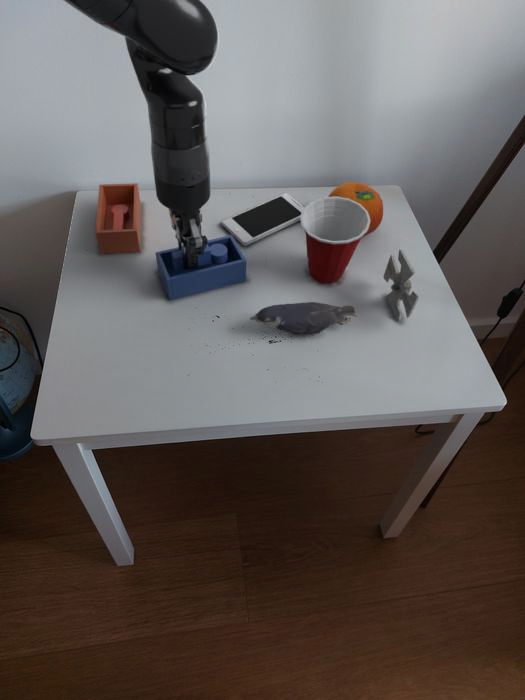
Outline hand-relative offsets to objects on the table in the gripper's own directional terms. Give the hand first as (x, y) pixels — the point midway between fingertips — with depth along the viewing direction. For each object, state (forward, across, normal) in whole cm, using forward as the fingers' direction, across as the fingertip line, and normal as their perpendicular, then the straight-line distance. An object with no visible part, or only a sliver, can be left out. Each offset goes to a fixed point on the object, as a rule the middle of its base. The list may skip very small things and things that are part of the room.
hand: (188, 262), depth 82 cm
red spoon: (+3, -16, -8) cm, 18 cm away
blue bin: (+4, 0, +2) cm, 5 cm away
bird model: (+4, +16, +13) cm, 21 cm away
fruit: (+4, -3, +32) cm, 33 cm away
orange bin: (+4, -17, -8) cm, 19 cm away
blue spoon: (+1, 0, +2) cm, 2 cm away
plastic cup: (+4, +6, +22) cm, 23 cm away
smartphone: (+4, -10, +18) cm, 21 cm away
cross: (+4, +17, +29) cm, 34 cm away
